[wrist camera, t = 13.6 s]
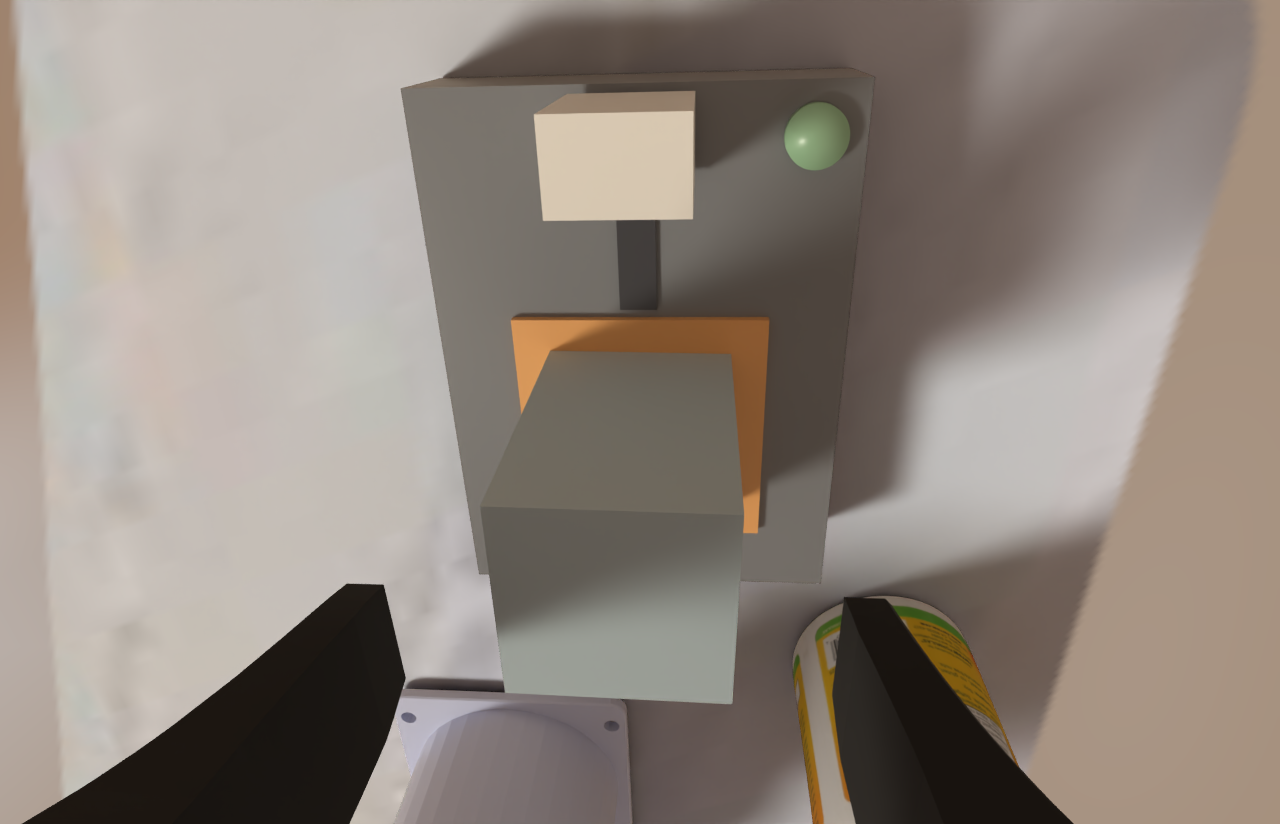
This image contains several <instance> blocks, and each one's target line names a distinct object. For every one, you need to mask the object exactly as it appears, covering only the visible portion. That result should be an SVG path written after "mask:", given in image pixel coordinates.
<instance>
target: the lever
mask: <svg viewBox="0 0 1280 824" xmlns="http://www.w3.org/2000/svg"><path fill="white" fill-rule="evenodd" d="M534 124H535V135H536V146H537V158H538V169H539V181H540V192H541V204H542V215H543V221H578V220H678V219H693V209H694V188H695V91H665V92H622V93H579V94H566V95H564V96H563V97H561V98H560V99H558V100H556V101H555V102H553V103H551V104H550V105H548V106H547V107H545V108H543V109H542V110H540V111H538V112H537V113H535V114H534Z"/></svg>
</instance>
